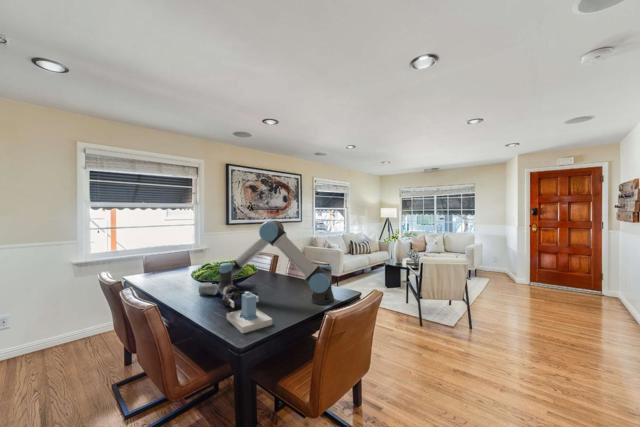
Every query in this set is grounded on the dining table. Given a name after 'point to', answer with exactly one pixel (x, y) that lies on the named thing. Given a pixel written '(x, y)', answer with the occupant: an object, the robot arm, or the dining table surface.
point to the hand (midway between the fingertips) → (246, 302)
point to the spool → (208, 288)
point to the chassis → (249, 321)
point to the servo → (248, 306)
